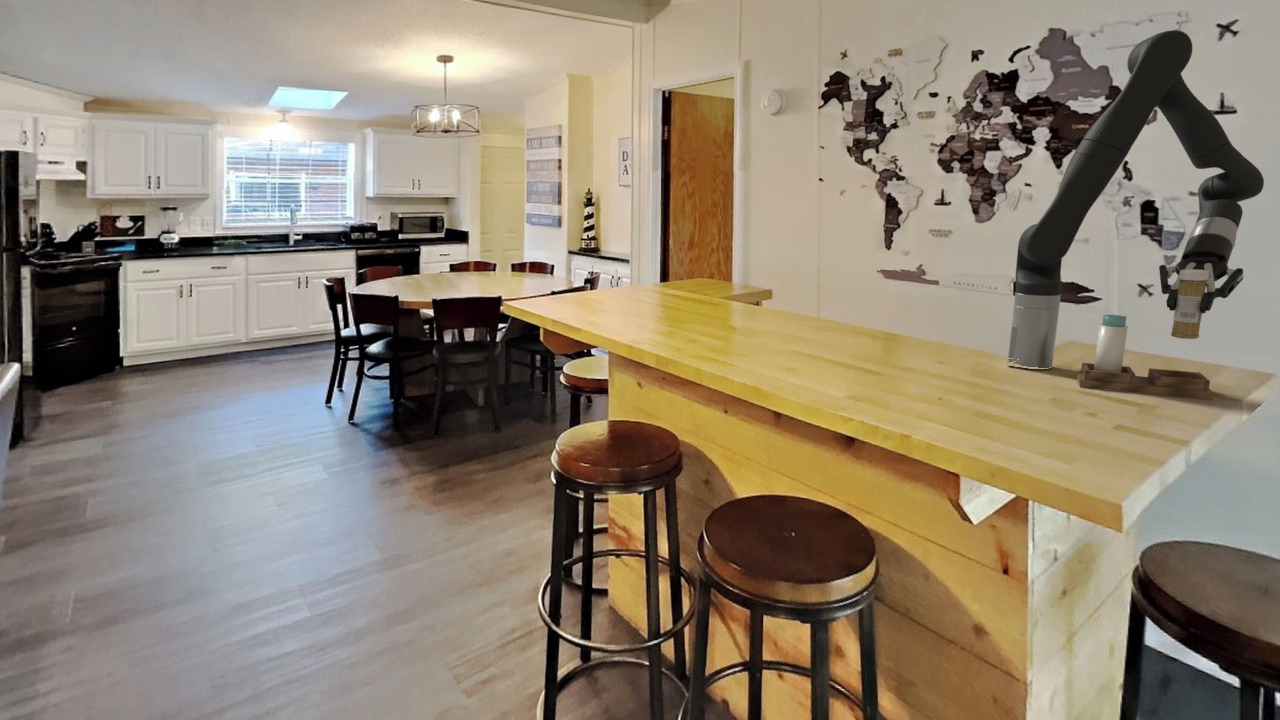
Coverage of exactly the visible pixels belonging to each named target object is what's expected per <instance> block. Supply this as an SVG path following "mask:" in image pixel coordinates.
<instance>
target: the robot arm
mask: <svg viewBox="0 0 1280 720" xmlns="http://www.w3.org/2000/svg"><path fill="white" fill-rule="evenodd" d="M1192 54H1193V43H1192V39H1191V38H1190V36H1189V35H1188V34H1187V33H1186V32H1184V31H1182V30H1175V29H1174V30H1173V29H1171V30H1166V31H1165V30H1164V31H1162V32H1158V33H1156V34H1154V35H1153V36H1152V35H1151V36H1150V37H1148V38H1146V39H1144V40H1141V41H1140V42H1139V43H1138V44H1136V45H1135V46H1134V47H1133V48H1132V49H1131V51H1130V53H1129V54H1128V58H1127V61H1126V62H1127V63H1126V65H1127V66H1126V67H1127V69H1128V72H1129V75H1130V77H1129V78H1128V81H1127V82H1126V84H1125V86H1124V87H1123V89H1122V91H1121V92H1120V93H1119V95H1118V96H1117V97H1116V99H1114V101H1113V102H1112V103H1111V104H1110V105H1109V107H1107V108H1106V110H1105V111H1104V112H1103V113H1102V114H1101V115H1100V117H1099V118H1098V119H1097V120H1096V121H1095V122H1094V123H1093V124H1092V125H1091V127H1090V128H1089V129H1088V131H1087V132H1086V134H1085V135H1084V137H1083V138H1082V140H1081V142H1080V143H1079V145H1078V146H1077V148H1076V150H1075V151H1074V153H1073V154H1072V157H1071V158H1070V160H1069V163H1068V164H1067V167H1066V168H1065V172H1064V174H1063V176H1062V180H1061V182H1060V185H1059V188H1058V190H1057V193H1056V195H1055V197H1054V198H1053V200H1052V202H1051V204H1050V205H1049V207H1047V209H1046V211H1045V212H1044V214H1043V216H1042V217H1041V218H1040V219H1039V220H1038V222H1037V223H1035V224H1032V225H1030V226H1028V228H1026V229H1025V230H1024V231H1023V232H1022V234H1021V235H1020V238H1019V240H1018V246H1017V254H1016V255H1017V256H1016V267H1015V293H1014V294H1015V295H1014V304H1013V311H1012V320H1011V327H1010V336H1009V346H1008V347H1009V348H1008V355H1007V363H1008V362H1012V361H1016V362H1013V363H1015V364H1019V365H1021V366H1027V367H1038V368H1049V367H1052V368H1053V361H1054V352H1055V347H1056V346H1055V345H1056V344H1055V343H1056V337H1057V328H1058V321H1059V320H1058V319H1059V313H1060V305H1061V297H1062V288H1063V282H1062V276H1061V274H1062V273H1061V271H1062V269H1061V268H1062V262H1063V261H1062V259H1063V258H1064V257H1065V256H1066V255H1067V253H1068V252H1069V250H1070V248H1071V246H1072V244H1073V243H1074V240H1075V238H1076V236H1077V234H1078V231H1079V230H1080V227H1081V226H1082V224H1083V221H1084V220H1085V218H1086V216H1087V214H1088V213H1089V211H1090V210H1091V208H1092V207H1093V206H1094V204H1095V202H1097V200H1098V199H1099V197H1100V196H1101V195H1102V193H1103V192H1104V190H1105V189H1106V188H1107V186H1108V184H1109V183H1110V182H1111V180H1112V179H1113V177H1114V176H1115V175H1116V173H1117V171H1118V170H1119V168H1120V167H1121V165H1122V164H1123V162H1124V161H1125V159H1126V158H1127V156H1128V154H1129V152H1130V150H1131V149H1132V146H1133V145H1134V143H1135V142H1136V141H1137V139H1138V137H1139V136H1140V134H1141V133H1142V131H1143V129H1144V127H1145V125H1146V124H1147V121H1148V120H1149V118H1150V116H1151V115H1152V113H1153V111H1154V110H1155V108H1156V107H1157V108H1158V109H1159V111H1160V112H1161V113H1162V115H1163V116H1164V117H1165V119H1166V121H1167V122H1168V124H1169V125H1170V127H1171V128H1172V130H1173V131H1174V133H1175V136H1176V137H1177V139H1178V140H1179V142H1180V144H1181V146H1182V148H1183V150H1184V151H1185V154H1186V155H1187V156H1188V159H1189V160H1190V162H1191V163H1192V165H1193V166H1194V167H1195V169H1197V170H1203V169H1204V170H1206V169H1210V168H1211V169H1213V168H1217V169H1219V170H1222V171H1223V172H1219V173H1217V174H1215V175H1211V176H1209V177H1207V178H1206V179H1204V180H1203V181H1202V182H1201V184H1200V185H1199V187H1198V190H1197V195H1198V202H1199V203H1198V206H1199V207H1198V208H1199V213H1198V216H1197V219H1196V222H1195V224H1194V227H1193V228H1192V230H1191V232H1190V234H1189V236H1188V240H1187V241H1186V245H1185V248H1184V250H1183V253H1182V255H1181V258H1180V261H1179V262H1177V263H1176V264H1175V265H1173V266H1167V265H1166V264H1161V265H1159V266H1158V268H1159V269H1158V270H1159V278H1160V279H1159V280H1160V286H1161V287H1160V288H1161V293H1162V294H1163V295H1168V296H1167V298H1166V301H1165V302H1166V307H1167V309H1169V311H1170V312H1171V311H1172V312H1175V306H1176V299H1177V294H1178V288H1179V280H1180V279H1179V274H1180V271H1181V270H1186V269H1196V270H1207V271H1209V277H1208V280H1207V283H1206V289H1205V290H1206V291H1205V294H1204V297H1203V300H1202V303H1201V306H1200V313H1202V314H1206V312H1209V311H1211V309H1212V306H1213V305H1214V301H1215V299H1217V298H1221V299H1226V298H1228V297H1229V296H1230V295H1231V294H1232V292H1233V291H1235V289H1236V288H1237V287H1238V286H1239V285H1240V283H1241V282H1242V281H1243V280H1244V269H1243V268H1240V267H1238V268H1236V269H1233V268H1229V265H1228V264H1229V260H1230V259H1231V255H1232V252H1233V249H1234V247H1235V245H1236V239H1237V232H1238V230H1239V227H1240V224H1241V220H1242V218H1243V213H1244V212H1243V208H1242V205H1240V203H1239V202H1242V201H1247V200H1250V199H1252V198H1255V197H1257V196H1258V195H1259V194H1260V193H1261V192H1262V191H1263V189H1264V185H1265V181H1264V180H1265V179H1264V176H1263V174H1262V173H1261V171H1260V169H1259V168H1257V166H1256V165H1254V163H1252V162H1251V161H1250V160H1249V159H1248V158H1246V157H1245V156H1244V155H1243V154H1242V153H1241V152H1240V151H1239V150H1238V149H1237V148H1236V147H1234V145H1233V144H1232V143H1231V141H1230V139H1229V137H1228V135H1227V133H1226V132H1225V130H1224V129H1223V127H1222V125H1221V123H1220V122H1219V120H1218V118H1216V116H1215V115H1214V114H1213V113H1212V111H1210V110H1209V109H1208V107H1206V106H1205V104H1203V103H1202V102H1201V100H1199V98H1197V96H1196V95H1195V94H1194V93H1193V92H1192V91H1191V90H1190V88H1189V87H1188V85H1187V83H1186V81H1185V80H1184V78H1183V76H1182V72H1183V71H1184V70H1185V68H1186V67H1187V66H1188V64H1189V62H1190V59H1191V57H1192ZM1174 273H1176V274H1177V278H1176V281H1174V283H1172V284H1169V279H1171V277H1172V276H1173V275H1174ZM1224 277H1227V278H1226V280H1225V281H1224V282H1223V283H1222V284H1221V285H1220V287H1216V286H1215V285H1216V283H1215V282H1217V281H1219V280H1220V279H1222V278H1224ZM1008 358H1014V359H1008ZM1017 359H1019V360H1017ZM1008 360H1009V361H1008Z"/></svg>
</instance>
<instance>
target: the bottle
mask: <svg viewBox="0 0 1280 720" xmlns="http://www.w3.org/2000/svg"><path fill="white" fill-rule="evenodd" d="M1127 318H1128V317H1127V316H1126V315H1121V314H1120V315H1119V314H1104V315H1103V316H1102V323H1101V324H1099V328H1098V337H1097V344H1096V352H1095V358H1094V364H1095V366H1094V370H1095V371H1106V372H1118V373H1121V370H1122V366H1123V363H1124V357H1125V354H1124V353H1125V349H1126V342H1127V341H1126V340H1127V333H1128V326H1129V325H1127Z"/></svg>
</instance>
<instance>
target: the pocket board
mask: <svg viewBox="0 0 1280 720" xmlns="http://www.w3.org/2000/svg"><path fill="white" fill-rule="evenodd" d="M1094 366H1095V363H1089V362H1088V363H1087V362H1082V363H1081V369H1080V370H1076V374H1075V375H1076V377H1077V378H1076V381H1077V380H1078V381H1077V384H1078V383H1079V384H1078V386H1080V387H1079V388H1083V387H1089V388H1088V389H1094V388H1101V389H1100V390H1104V389H1109V390H1108V391H1114V390H1116V391H1117V392H1126V393H1137V394H1147V395H1156V396H1157V395H1158V396H1169V397H1177V398H1178V397H1179V398H1187V397H1188V398H1187V399H1197V400H1200V399H1201V400H1206V401H1207V400H1210V401H1213V397H1214V391H1213V390H1212V389H1210V382H1211V381H1210V380H1209V379H1208V378H1207V377H1206V376H1204V375H1203V374H1202V373H1201V372H1200V371H1199V372H1197V371H1185V370H1184V371H1183V370H1175V369H1173V370H1172V369H1162V368H1161V369H1160V368H1151V367H1149V368H1148V373H1147V376H1140V375H1136V374H1135V371H1133V369H1132V368H1131V366H1128V365H1127V366H1126V365H1124V366H1123V365H1122V370H1121V373H1118V372H1106V371H1095V370H1094ZM1116 391H1115V392H1116Z"/></svg>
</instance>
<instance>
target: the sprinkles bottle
mask: <svg viewBox="0 0 1280 720" xmlns="http://www.w3.org/2000/svg"><path fill="white" fill-rule="evenodd" d="M1208 277H1209V271H1207V270H1196V269H1186V270H1181V271H1180V274H1179V279H1180V280H1179V288H1178V294H1177V299H1176V306H1175V310H1174V313H1173V323H1172V330H1171V333H1170V336H1171V337H1174V338H1176V339H1177V338H1178V339H1185V340H1188V339H1189V340H1197V339H1198V338H1199V337H1200V327H1201V322H1202V318H1203V313H1200V306H1201V303H1202V300H1203V297H1204V294H1205V292H1206V290H1207V289H1206V283H1207V280H1208Z"/></svg>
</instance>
